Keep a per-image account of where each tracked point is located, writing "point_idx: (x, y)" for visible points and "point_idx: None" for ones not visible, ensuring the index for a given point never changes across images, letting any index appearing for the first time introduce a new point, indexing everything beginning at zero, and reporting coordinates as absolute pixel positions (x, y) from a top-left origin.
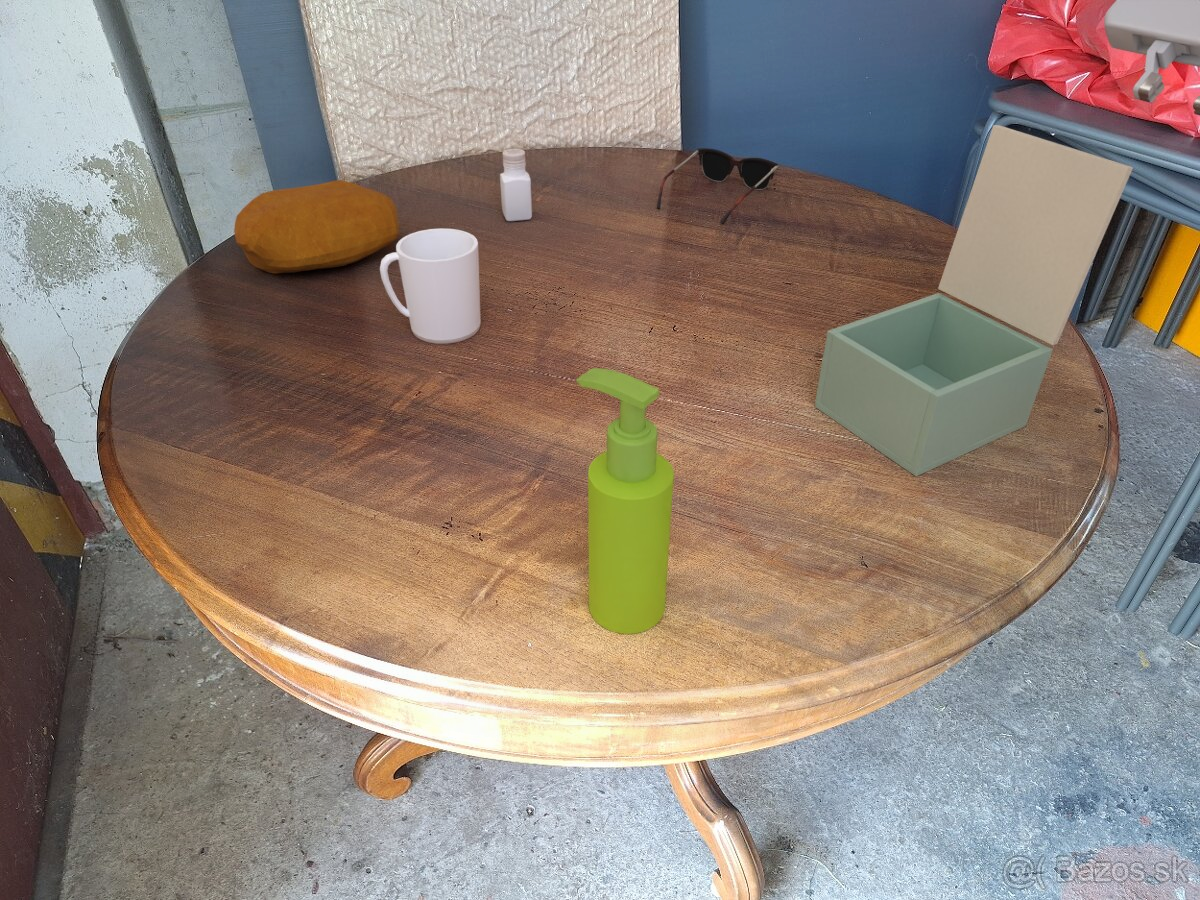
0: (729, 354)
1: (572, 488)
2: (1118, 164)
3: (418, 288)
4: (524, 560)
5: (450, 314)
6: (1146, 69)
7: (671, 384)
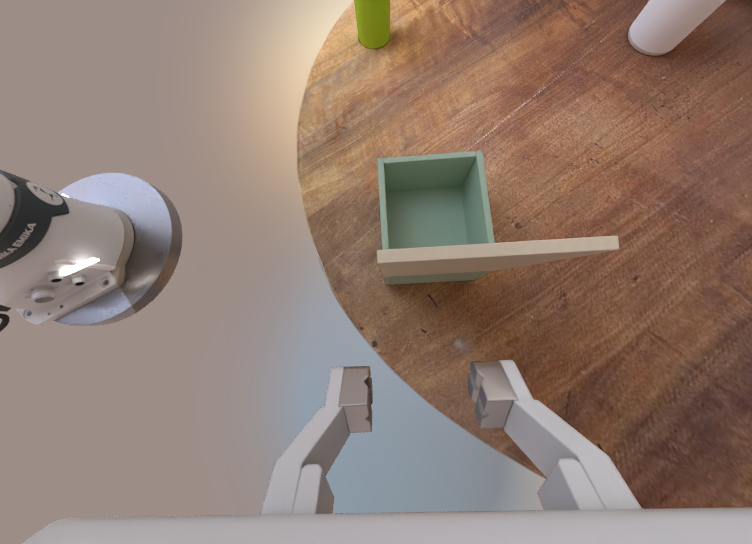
0: (544, 174)
1: (455, 44)
2: (392, 250)
3: None
4: (418, 12)
5: (645, 10)
6: (537, 404)
7: (524, 125)
